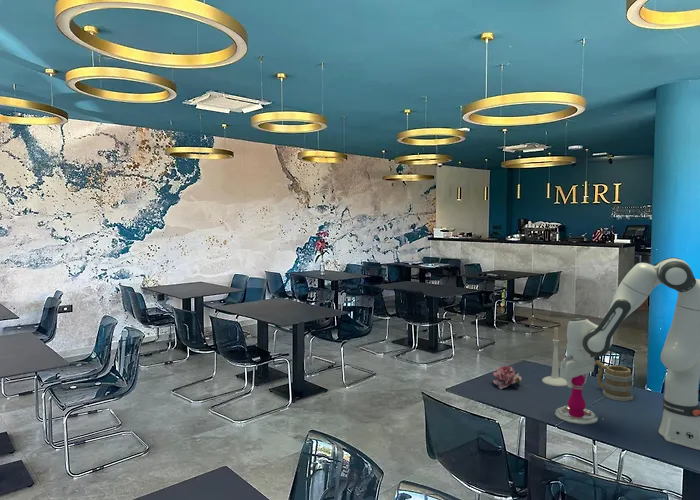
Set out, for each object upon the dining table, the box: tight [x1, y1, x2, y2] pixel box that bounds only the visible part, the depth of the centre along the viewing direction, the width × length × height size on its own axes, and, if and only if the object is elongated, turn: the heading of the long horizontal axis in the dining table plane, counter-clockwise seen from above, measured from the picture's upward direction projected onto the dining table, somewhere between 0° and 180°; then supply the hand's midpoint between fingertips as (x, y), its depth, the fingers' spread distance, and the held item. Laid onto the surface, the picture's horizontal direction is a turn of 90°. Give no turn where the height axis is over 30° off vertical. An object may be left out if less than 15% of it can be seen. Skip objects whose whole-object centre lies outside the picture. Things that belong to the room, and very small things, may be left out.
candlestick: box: [541, 326, 567, 387], centre depth 259 cm, size 13×13×30 cm
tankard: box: [594, 359, 634, 402], centre depth 242 cm, size 20×13×15 cm, turn 22°
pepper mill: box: [567, 375, 586, 417], centre depth 214 cm, size 7×7×20 cm
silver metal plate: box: [554, 405, 599, 426], centre depth 215 cm, size 17×17×2 cm
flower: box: [492, 364, 523, 390], centre depth 254 cm, size 15×15×10 cm
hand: (576, 385), depth 214 cm, fingers open, 8 cm apart
